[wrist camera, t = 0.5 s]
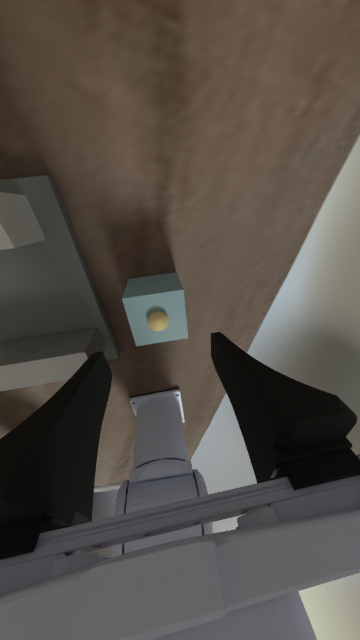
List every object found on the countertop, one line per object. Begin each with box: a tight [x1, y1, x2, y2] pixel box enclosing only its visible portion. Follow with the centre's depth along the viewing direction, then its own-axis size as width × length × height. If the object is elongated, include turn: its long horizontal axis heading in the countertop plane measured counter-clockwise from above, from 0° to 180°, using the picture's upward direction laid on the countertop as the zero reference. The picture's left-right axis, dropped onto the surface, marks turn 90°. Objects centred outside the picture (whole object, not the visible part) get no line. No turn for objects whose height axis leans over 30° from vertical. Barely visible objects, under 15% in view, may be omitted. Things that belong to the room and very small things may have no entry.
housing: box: [122, 272, 188, 346], centre depth 18 cm, size 5×5×5 cm
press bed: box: [0, 175, 120, 360], centre depth 16 cm, size 18×12×5 cm, turn 5°
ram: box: [0, 328, 105, 391], centre depth 18 cm, size 3×10×4 cm, turn 95°
